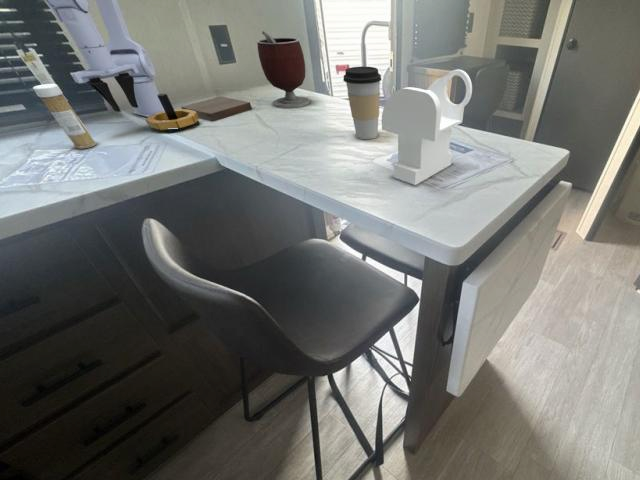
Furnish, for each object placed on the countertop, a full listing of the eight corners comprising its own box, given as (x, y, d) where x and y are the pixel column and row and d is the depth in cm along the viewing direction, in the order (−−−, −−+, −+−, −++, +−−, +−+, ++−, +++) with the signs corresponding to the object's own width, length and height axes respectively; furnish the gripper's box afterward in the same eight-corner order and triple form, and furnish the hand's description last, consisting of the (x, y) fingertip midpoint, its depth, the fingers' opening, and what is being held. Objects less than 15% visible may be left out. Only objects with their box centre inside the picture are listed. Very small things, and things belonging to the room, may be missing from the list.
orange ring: (141, 124, 91) (137, 117, 90) (181, 113, 98) (178, 107, 97) (166, 132, 86) (162, 125, 85) (206, 119, 94) (204, 113, 93)
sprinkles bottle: (98, 142, 84) (58, 82, 74) (95, 147, 81) (53, 86, 72) (77, 144, 83) (34, 84, 73) (73, 150, 80) (28, 88, 70)
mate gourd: (281, 97, 116) (263, 25, 101) (317, 98, 114) (304, 25, 100) (262, 109, 105) (240, 30, 91) (302, 110, 104) (285, 31, 89)
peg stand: (153, 127, 92) (136, 96, 86) (181, 119, 98) (168, 89, 92) (171, 132, 89) (155, 100, 83) (199, 124, 94) (186, 93, 89)
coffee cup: (389, 132, 88) (387, 67, 77) (373, 144, 82) (369, 75, 71) (360, 128, 91) (354, 64, 80) (343, 138, 85) (334, 71, 74)
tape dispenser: (421, 154, 77) (426, 64, 64) (467, 168, 71) (481, 72, 58) (383, 174, 69) (379, 76, 56) (431, 191, 64) (438, 86, 51)
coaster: (184, 113, 102) (180, 106, 100) (223, 102, 111) (221, 96, 109) (213, 121, 96) (210, 113, 95) (252, 109, 105) (250, 102, 104)
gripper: (65, 51, 71) (105, 118, 81) (130, 44, 80) (160, 104, 90) (51, 49, 74) (92, 114, 84) (116, 42, 82) (146, 101, 92)
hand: (126, 109), depth 87 cm, fingers open, 4 cm apart
